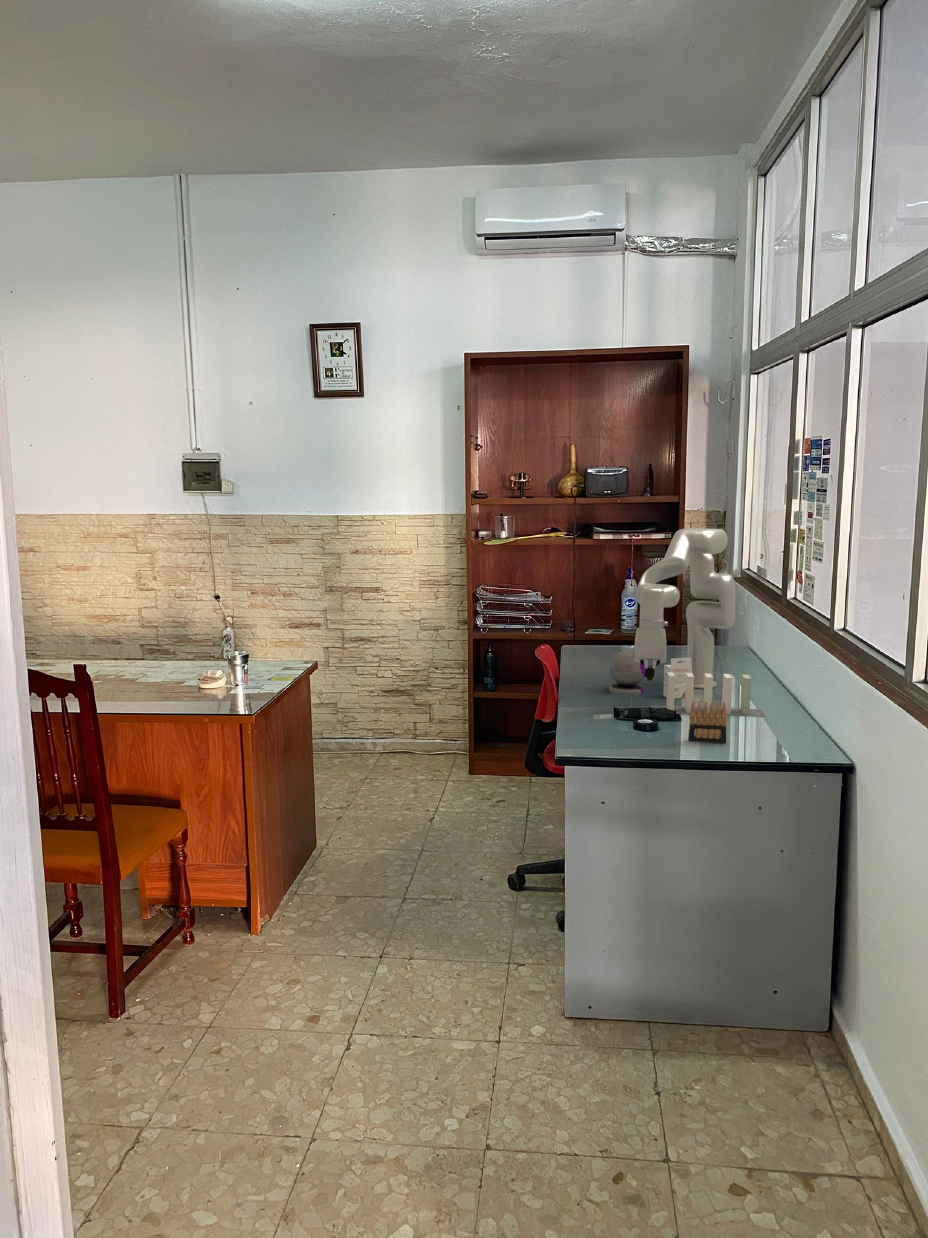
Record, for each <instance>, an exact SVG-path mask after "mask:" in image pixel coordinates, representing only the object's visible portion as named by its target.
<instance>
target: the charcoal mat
mask: <svg viewBox="0 0 928 1238" xmlns="http://www.w3.org/2000/svg"><path fill="white" fill-rule="evenodd" d="M651 708H666V705H650V709H651ZM674 710H675V711H676V714H675V715H690V713H686V711H685V706H680V705H679V706H675V705H674ZM715 713H716V707H714V716H715ZM696 714H697V706H695V715H696ZM701 714H702V716H703V706H701ZM721 715H722V707H720V716H721ZM708 716H709V713H708ZM726 716H728V717H751V718H767V715H766V714H765V713H764V711H763V710H762V709H760V708H759V709H757V708H750V715H743V714H742V712H741V711H740V708H735V707H733V708H732V707H731V714H726Z"/></svg>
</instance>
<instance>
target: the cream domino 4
mask: <svg viewBox="0 0 928 1238" xmlns="http://www.w3.org/2000/svg"><path fill="white" fill-rule="evenodd" d="M732 691H733V677H732V675H731V674H730V673H722V695H721V696H722V697H721V708H722V707H723V703H724V702H725V704H726V714H731V708H732Z"/></svg>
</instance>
